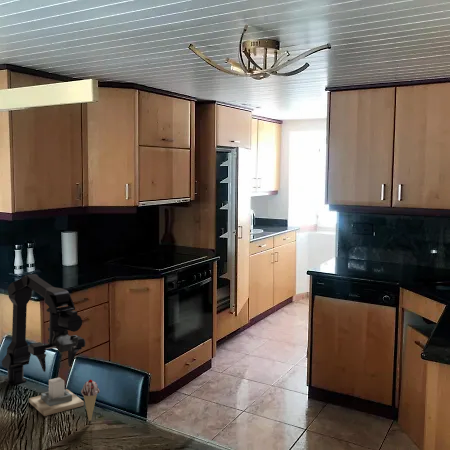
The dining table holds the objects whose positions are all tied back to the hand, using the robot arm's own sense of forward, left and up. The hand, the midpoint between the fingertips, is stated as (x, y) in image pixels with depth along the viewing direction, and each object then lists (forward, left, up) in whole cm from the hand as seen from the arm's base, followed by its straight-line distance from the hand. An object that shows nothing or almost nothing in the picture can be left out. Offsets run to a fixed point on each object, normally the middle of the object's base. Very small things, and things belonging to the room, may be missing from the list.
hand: (57, 368), depth 179 cm
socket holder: (+2, -1, -12) cm, 12 cm away
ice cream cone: (+24, +1, -12) cm, 27 cm away
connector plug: (+2, -1, -10) cm, 10 cm away
